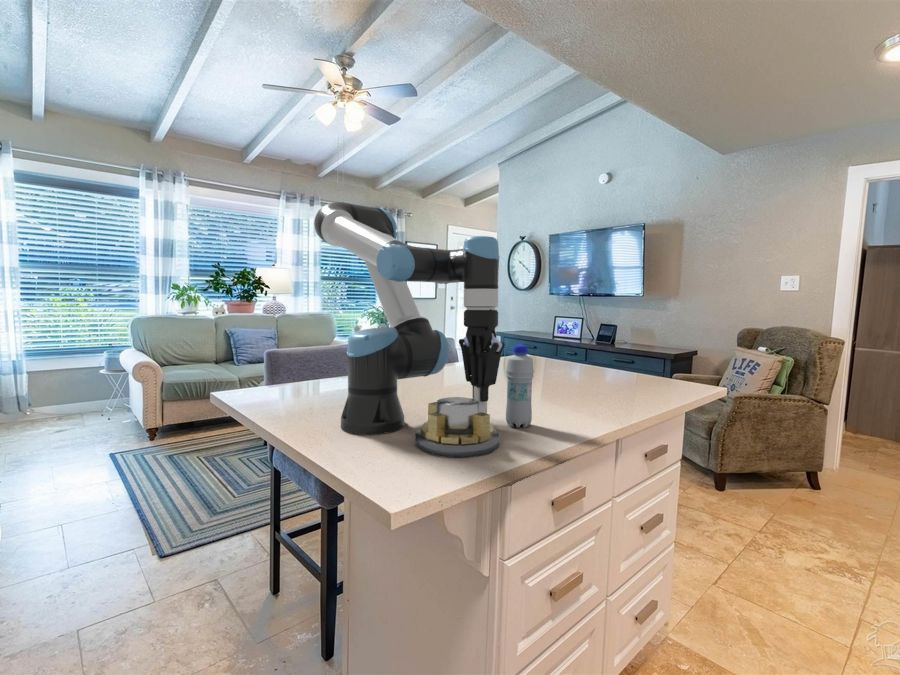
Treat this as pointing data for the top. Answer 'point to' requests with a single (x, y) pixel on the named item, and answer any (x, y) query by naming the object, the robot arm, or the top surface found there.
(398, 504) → the top surface
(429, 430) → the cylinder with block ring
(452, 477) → the top surface
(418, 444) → the cap plate
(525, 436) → the top surface
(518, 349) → the bottle
